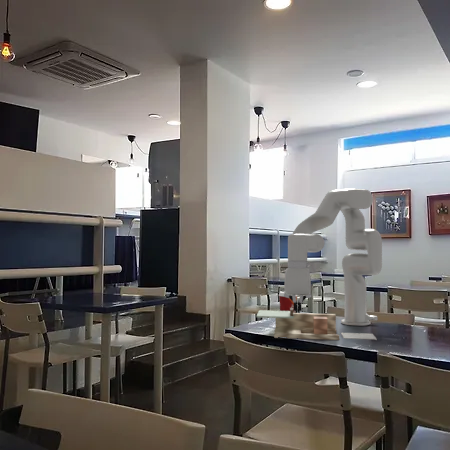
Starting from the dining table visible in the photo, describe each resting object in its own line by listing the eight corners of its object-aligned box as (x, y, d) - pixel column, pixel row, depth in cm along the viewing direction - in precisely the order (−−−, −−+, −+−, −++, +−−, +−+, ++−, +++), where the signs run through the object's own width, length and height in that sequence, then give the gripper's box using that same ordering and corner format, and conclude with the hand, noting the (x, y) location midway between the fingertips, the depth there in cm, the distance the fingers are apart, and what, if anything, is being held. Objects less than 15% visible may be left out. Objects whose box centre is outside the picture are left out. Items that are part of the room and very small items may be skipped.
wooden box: (335, 332, 190) (335, 314, 190) (339, 340, 174) (339, 320, 174) (275, 330, 193) (275, 312, 194) (274, 338, 177) (274, 318, 178)
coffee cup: (297, 329, 197) (297, 293, 197) (277, 328, 198) (277, 293, 199) (298, 325, 205) (298, 291, 205) (279, 325, 206) (279, 291, 207)
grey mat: (372, 335, 185) (372, 333, 185) (376, 340, 175) (376, 338, 175) (341, 334, 187) (341, 332, 187) (343, 339, 177) (343, 337, 177)
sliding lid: (293, 312, 192) (293, 306, 192) (293, 318, 177) (293, 311, 177) (259, 311, 194) (259, 305, 194) (256, 317, 179) (256, 310, 179)
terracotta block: (326, 334, 183) (326, 316, 183) (327, 337, 178) (327, 319, 178) (313, 334, 184) (313, 316, 184) (314, 337, 179) (314, 318, 179)
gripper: (316, 265, 186) (316, 311, 185) (278, 264, 188) (278, 310, 187) (317, 266, 178) (317, 314, 178) (278, 265, 180) (278, 313, 180)
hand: (297, 312), depth 182 cm, fingers closed
